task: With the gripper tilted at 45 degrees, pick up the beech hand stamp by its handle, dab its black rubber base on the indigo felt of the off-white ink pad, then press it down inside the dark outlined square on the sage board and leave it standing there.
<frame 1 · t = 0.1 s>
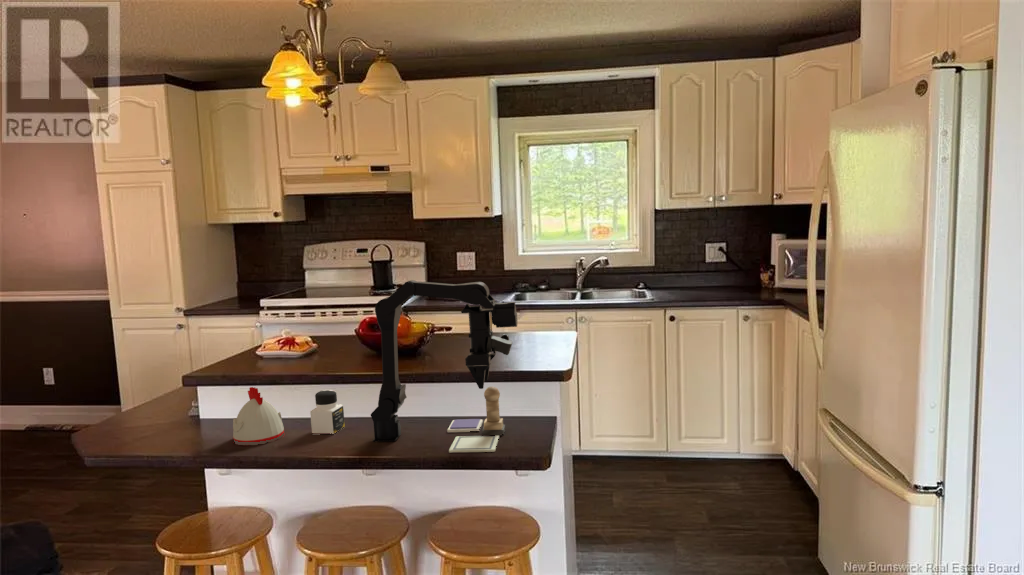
hand: (483, 384, 178), 15 cm above the countertop, tool pointing down, fingers open, 9 cm apart
marked board: (474, 444, 173), on the countertop
hand stamp: (494, 432, 183), on the countertop
medicine bottle: (328, 431, 192), on the countertop
kitchen timer: (259, 438, 189), on the countertop
ink pad: (465, 427, 189), on the countertop
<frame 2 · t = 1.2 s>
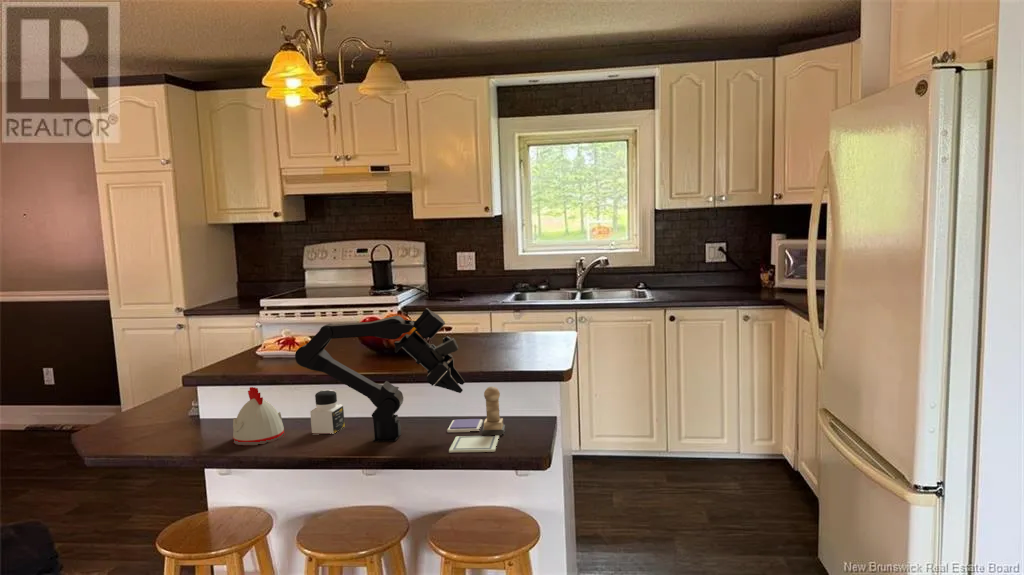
hand: (462, 387, 181), 13 cm above the countertop, tool tilted 45°, fingers open, 9 cm apart
nothing on the countertop moved.
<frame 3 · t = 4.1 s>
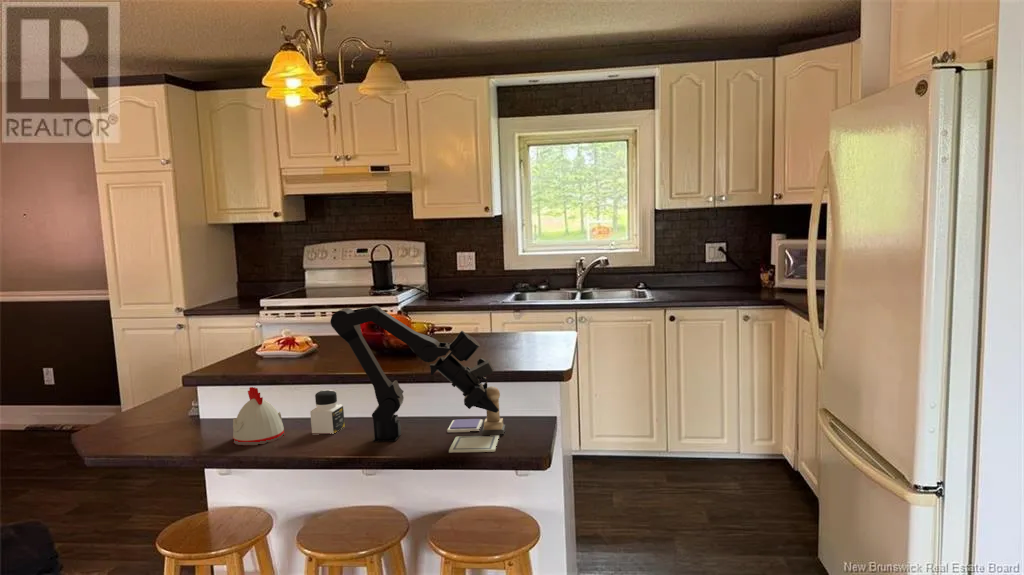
hand: (497, 409, 182), 7 cm above the countertop, tool tilted 45°, fingers closed on hand stamp, 4 cm apart
hand stamp: (494, 432, 183), on the countertop, touching gripper
everything else where it was.
when the fingers open (7 cm above the countertop, at t = 11.2 s): hand stamp stays where it is, resting on marked board.
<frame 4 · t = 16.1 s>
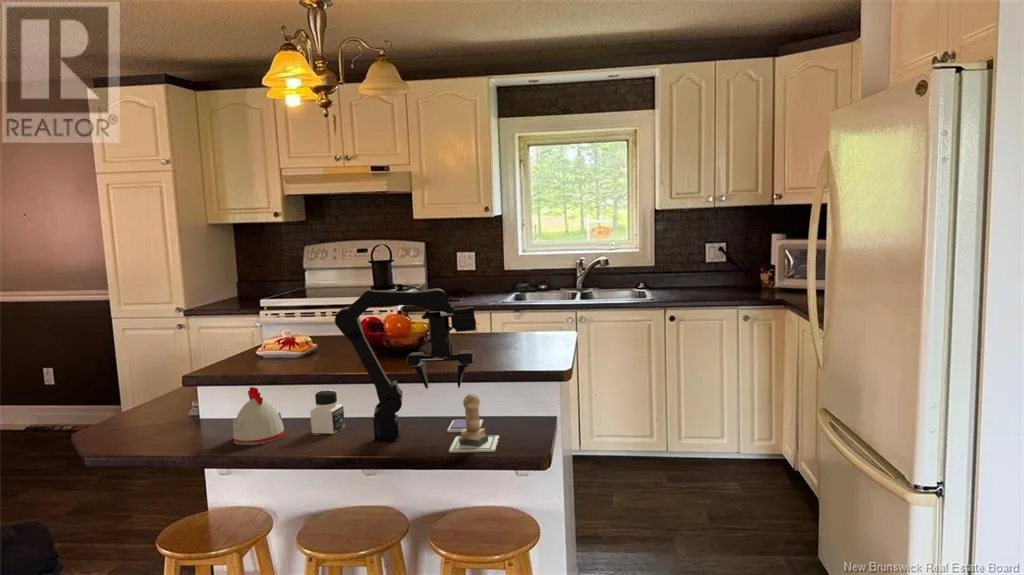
hand: (443, 387, 184), 13 cm above the countertop, tool pointing down, fingers open, 9 cm apart
hand stamp: (473, 442, 173), point 1 cm above the countertop, touching marked board
everything else where it was.
at the end: hand stamp 0.2 cm off-centre on the marked board, point 0.6 cm above the marked board's base; hand stamp tilted 0°; the gripper is holding nothing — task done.
